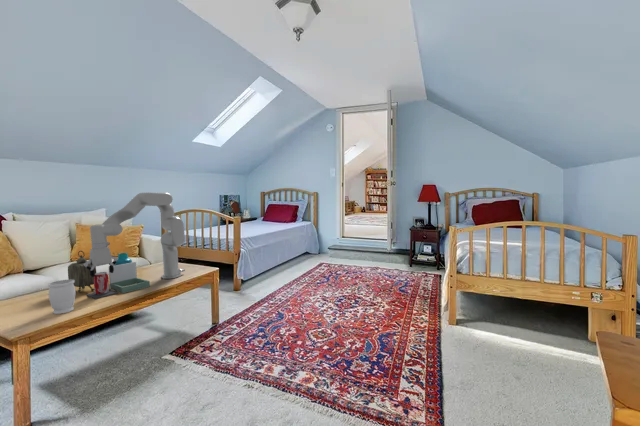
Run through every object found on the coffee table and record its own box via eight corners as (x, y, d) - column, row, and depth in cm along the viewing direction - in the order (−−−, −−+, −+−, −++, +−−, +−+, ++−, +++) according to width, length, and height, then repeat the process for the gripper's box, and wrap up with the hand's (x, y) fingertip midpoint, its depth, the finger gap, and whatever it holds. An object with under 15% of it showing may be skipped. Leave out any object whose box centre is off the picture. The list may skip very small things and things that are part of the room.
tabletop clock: (97, 290, 194) (95, 250, 192) (80, 295, 186) (77, 253, 184) (85, 287, 200) (82, 248, 199) (68, 291, 192) (65, 251, 191)
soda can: (112, 292, 188) (110, 272, 187) (100, 295, 181) (99, 275, 180) (103, 291, 190) (102, 271, 189) (91, 294, 183) (90, 274, 183)
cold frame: (136, 282, 210) (135, 261, 209) (149, 286, 201) (148, 264, 200) (109, 288, 197) (108, 266, 196) (122, 293, 188) (121, 270, 187)
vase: (137, 279, 218) (135, 252, 217) (126, 283, 208) (124, 255, 206) (122, 279, 219) (121, 251, 218) (111, 283, 209) (109, 255, 207)
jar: (60, 307, 165) (58, 279, 164) (81, 307, 166) (79, 278, 165) (44, 315, 154) (42, 285, 153) (67, 314, 155) (64, 284, 154)
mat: (109, 290, 194) (109, 289, 194) (118, 293, 187) (118, 292, 187) (86, 295, 184) (86, 294, 184) (95, 299, 178) (95, 297, 177)
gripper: (113, 242, 193) (115, 270, 195) (79, 248, 179) (82, 277, 181) (118, 243, 189) (121, 271, 191) (84, 249, 175) (87, 279, 176)
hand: (102, 274), depth 186 cm, fingers open, 9 cm apart
